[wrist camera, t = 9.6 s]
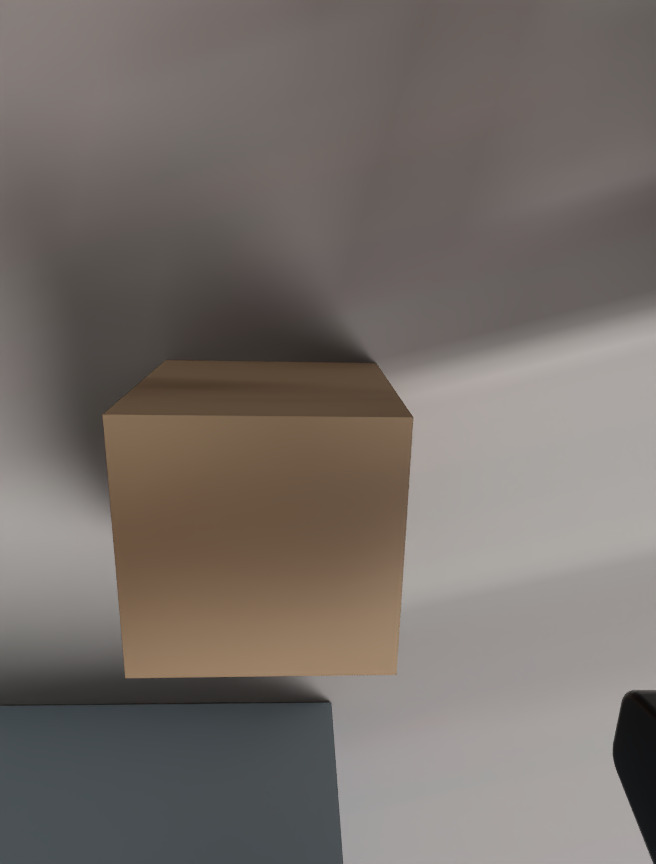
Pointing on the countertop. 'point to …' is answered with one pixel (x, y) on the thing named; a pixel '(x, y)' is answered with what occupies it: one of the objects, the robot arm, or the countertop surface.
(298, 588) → the walnut cube
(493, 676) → the countertop surface
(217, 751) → the slate tote
